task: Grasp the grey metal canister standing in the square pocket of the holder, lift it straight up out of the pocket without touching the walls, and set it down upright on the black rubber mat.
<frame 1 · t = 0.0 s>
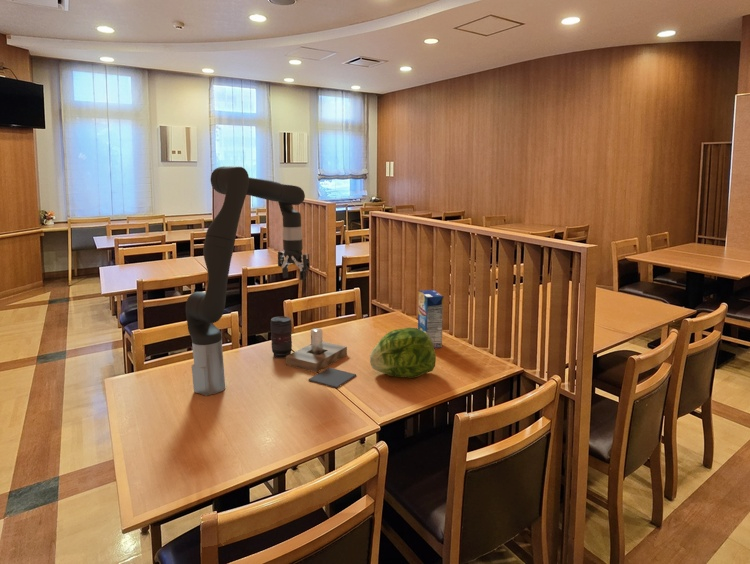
hand: (294, 278, 198), 29 cm above the table, tool pointing down, fingers open, 8 cm apart
canister: (316, 345, 190), in the holder
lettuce: (402, 375, 178), on the table
camera lens: (282, 355, 197), on the table
beverage box: (429, 344, 209), on the table
mat: (332, 378, 175), on the table
holder: (317, 359, 192), on the table
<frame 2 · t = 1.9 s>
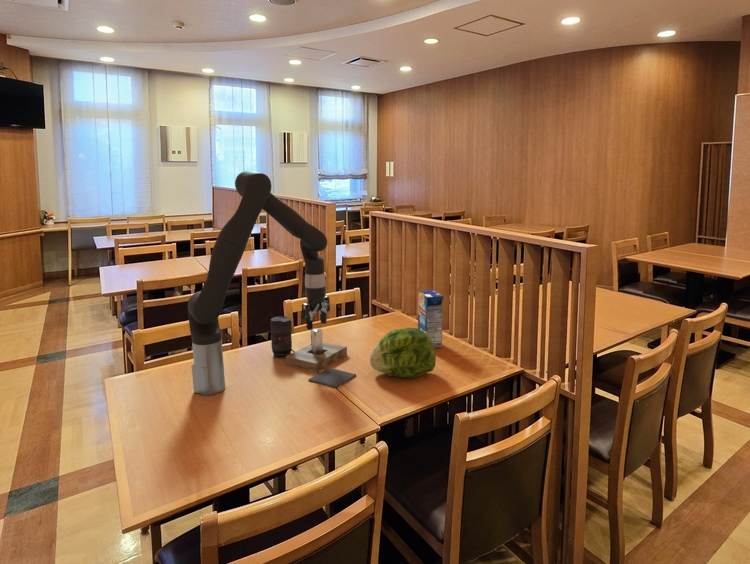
hand: (316, 326, 189), 14 cm above the table, tool pointing down, fingers open, 8 cm apart
nothing on the table moved.
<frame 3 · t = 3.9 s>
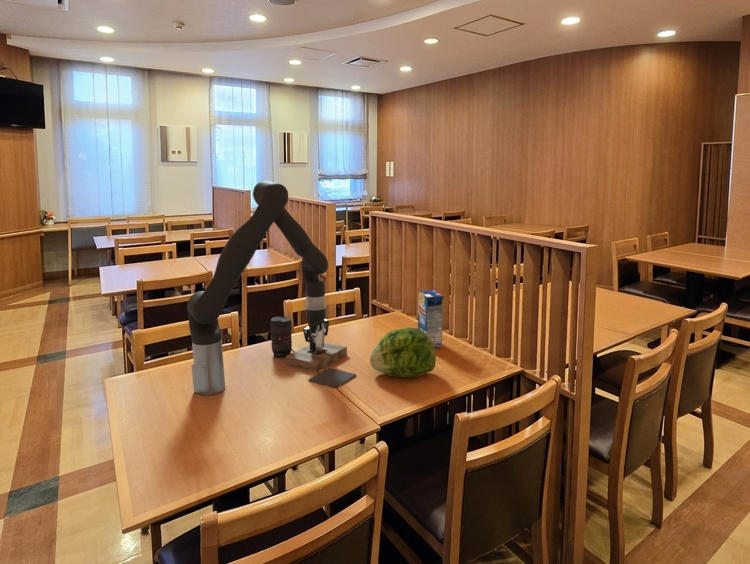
hand: (317, 349, 191), 4 cm above the table, tool pointing down, fingers closed on canister, 4 cm apart
canister: (316, 345, 190), in the holder, touching gripper
everything else where it was.
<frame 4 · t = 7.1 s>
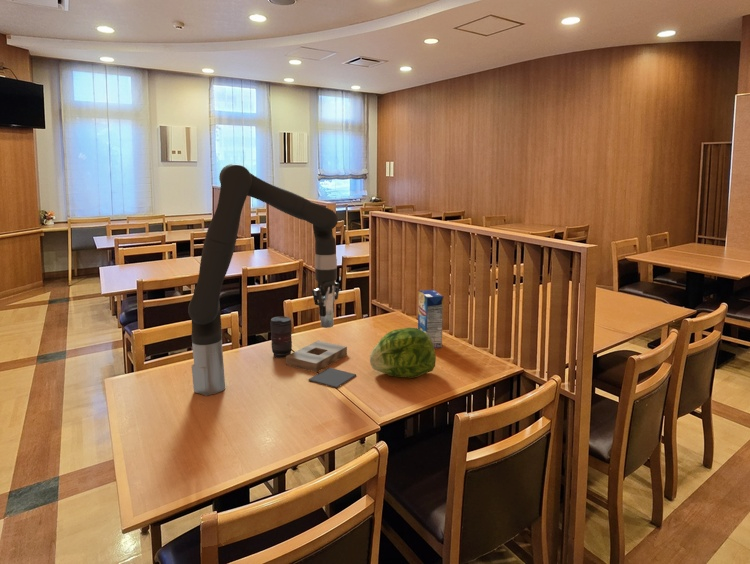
hand: (326, 314, 175), 22 cm above the table, tool pointing down, fingers closed on canister, 4 cm apart
canister: (326, 309, 174), point 24 cm above the table, touching gripper
everything else where it was.
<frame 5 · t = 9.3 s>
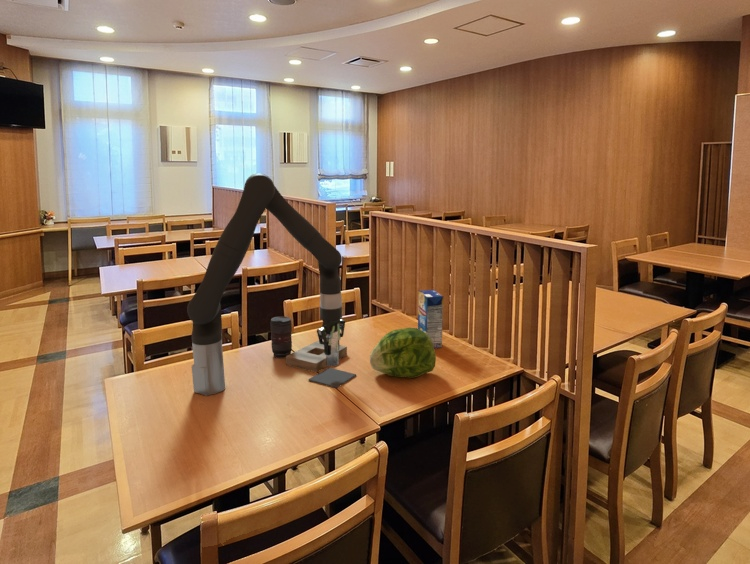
hand: (332, 352, 173), 10 cm above the table, tool pointing down, fingers closed on canister, 4 cm apart
canister: (332, 347, 172), point 11 cm above the table, touching gripper
everything else where it was.
when the fingers open (6 cm above the table, at t = 10.8 s): canister drops 1 cm, resting on mat.
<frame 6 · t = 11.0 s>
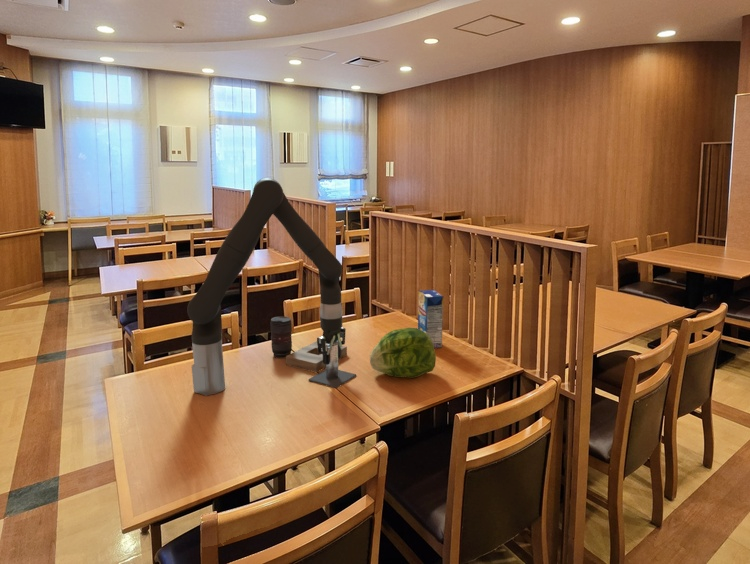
hand: (332, 360, 173), 7 cm above the table, tool pointing down, fingers open, 6 cm apart
canister: (331, 360, 173), on the mat, point 7 cm above the table
everything else where it was.
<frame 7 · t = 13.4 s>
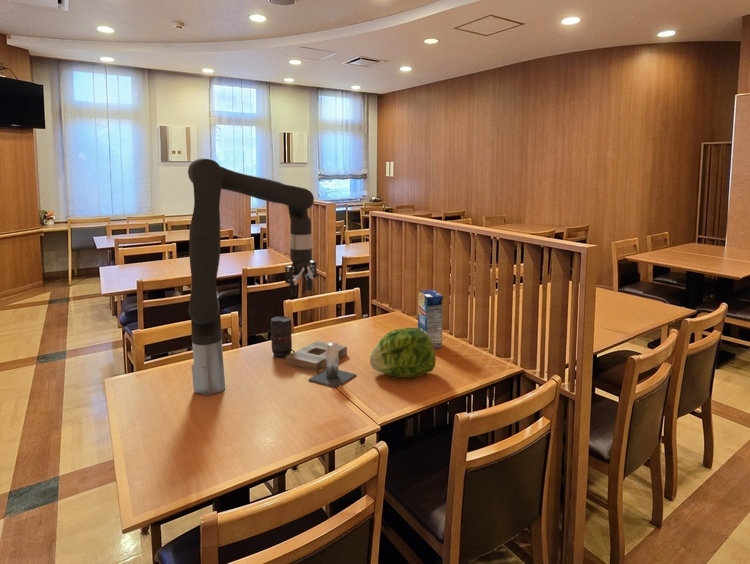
hand: (301, 292, 174), 30 cm above the table, tool pointing down, fingers open, 8 cm apart
nothing on the table moved.
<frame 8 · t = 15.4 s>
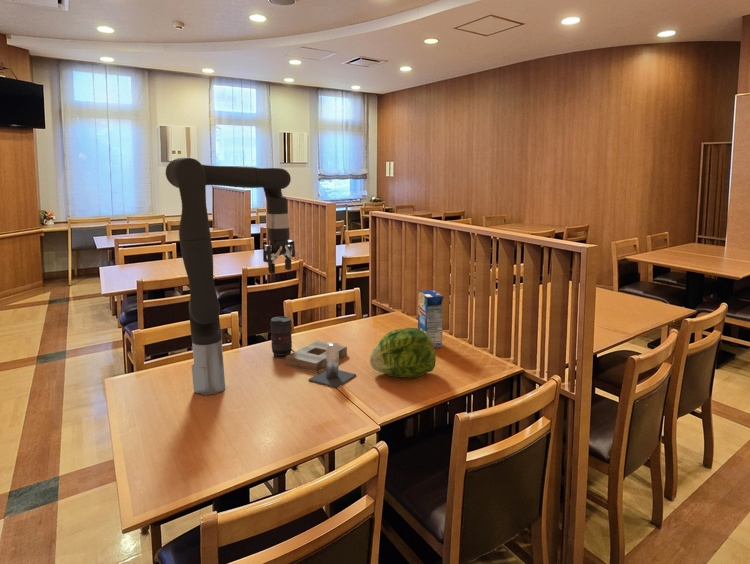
hand: (280, 271, 178), 36 cm above the table, tool pointing down, fingers open, 8 cm apart
nothing on the table moved.
at the end: canister inside the target area on the mat (0.1 cm from its centre), point 6.7 cm above the mat's base; canister tilted 1°; the gripper is holding nothing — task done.
